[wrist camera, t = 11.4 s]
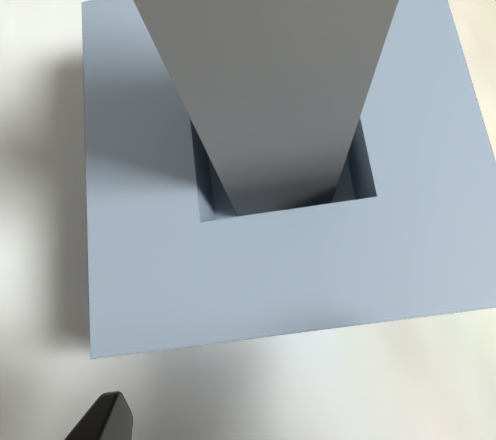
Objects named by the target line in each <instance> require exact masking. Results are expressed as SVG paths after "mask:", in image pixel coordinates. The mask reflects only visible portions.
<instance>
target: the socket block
mask: <svg viewBox="0 0 496 440" xmlns="http://www.w3.org/2000/svg"><path fill="white" fill-rule="evenodd" d="M82 38H83V78H84V118H85V157H86V197H87V237H88V277H89V316H90V356H91V359H96V358H104V357H112V356H120V355H127V354H135V353H143V352H151V351H159V350H167V349H175V348H182V347H190V346H198V345H206V344H214V343H222V342H229V341H237V340H245V339H253V338H261V337H269V336H277V335H284V334H292V333H300V332H308V331H316V330H324V329H331V328H339V327H347V326H355V325H363V324H371V323H379V322H386V321H394V320H402V319H410V318H418V317H426V316H433V315H441V314H449V313H457V312H465V311H473V310H481V309H488V308H496V161H495V157H494V154H493V151H492V147H491V144H490V141H489V137H488V134H487V131H486V127H485V124H484V120H483V117H482V114H481V110H480V107H479V104H478V100H477V97H476V94H475V90H474V87H473V84H472V80H471V77H470V74H469V70H468V67H467V64H466V60H465V57H464V54H463V50H462V47H461V44H460V40H459V37H458V34H457V30H456V27H455V24H454V20H453V17H452V14H451V10H450V7H449V4H448V0H399V1H398V4H397V7H396V10H395V13H394V16H393V19H392V22H391V25H390V28H389V31H388V34H387V37H386V40H385V43H384V46H383V49H382V52H381V55H380V58H379V61H378V64H377V67H376V70H375V73H374V76H373V79H372V82H371V85H370V88H369V91H368V94H367V97H366V100H365V103H364V106H363V109H362V112H361V115H360V118H359V121H358V124H357V127H356V130H355V133H354V136H353V139H352V142H351V145H350V148H349V151H348V154H347V157H346V160H345V163H344V166H343V169H342V172H341V175H340V178H339V181H338V184H337V187H336V190H335V193H334V196H333V199H332V202H331V203H325V204H318V205H312V206H305V207H298V208H291V209H284V210H278V211H271V212H264V213H257V214H251V215H244V216H237V214H236V211H235V209H234V207H233V205H232V203H231V201H230V199H229V197H228V195H227V193H226V191H225V189H224V187H223V185H222V183H221V181H220V178H219V176H218V174H217V172H216V170H215V168H214V166H213V164H212V162H211V160H210V158H209V156H208V154H207V152H206V150H205V148H204V145H203V143H202V141H201V139H200V137H199V135H198V133H197V131H196V129H195V127H194V125H193V123H192V121H191V119H190V117H189V114H188V112H187V110H186V108H185V106H184V104H183V102H182V100H181V98H180V96H179V94H178V92H177V90H176V88H175V86H174V84H173V81H172V79H171V77H170V75H169V73H168V71H167V69H166V67H165V65H164V63H163V61H162V59H161V57H160V55H159V53H158V51H157V48H156V46H155V44H154V42H153V40H152V38H151V36H150V34H149V32H148V30H147V28H146V26H145V24H144V22H143V20H142V18H141V15H140V13H139V11H138V9H137V7H136V5H135V3H134V1H133V0H90V1H85V2H82Z"/></svg>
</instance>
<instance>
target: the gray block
mask: <svg viewBox="0 0 496 440" xmlns="http://www.w3.org/2000/svg"><path fill="white" fill-rule="evenodd" d="M133 1H134V3H135V5H136V7H137V9H138V11H139V13H140V15H141V18H142V20H143V22H144V24H145V26H146V28H147V30H148V32H149V34H150V36H151V38H152V40H153V42H154V44H155V46H156V48H157V51H158V53H159V55H160V57H161V59H162V61H163V63H164V65H165V67H166V69H167V71H168V73H169V75H170V77H171V79H172V81H173V84H174V86H175V88H176V90H177V92H178V94H179V96H180V98H181V100H182V102H183V104H184V106H185V108H186V110H187V112H188V114H189V117H190V119H191V121H192V123H193V125H194V127H195V129H196V131H197V133H198V135H199V137H200V139H201V141H202V143H203V145H204V148H205V150H206V152H207V154H208V156H209V158H210V160H211V162H212V164H213V166H214V168H215V170H216V172H217V174H218V176H219V178H220V181H221V183H222V185H223V187H224V189H225V191H226V193H227V195H228V197H229V199H230V201H231V203H232V205H233V207H234V209H235V211H236V214H237V216H244V215H251V214H257V213H264V212H271V211H278V210H284V209H291V208H298V207H305V206H312V205H318V204H325V203H331V202H332V199H333V196H334V193H335V190H336V187H337V184H338V181H339V178H340V175H341V172H342V169H343V166H344V163H345V160H346V157H347V154H348V151H349V148H350V145H351V142H352V139H353V136H354V133H355V130H356V127H357V124H358V121H359V118H360V115H361V112H362V109H363V106H364V103H365V100H366V97H367V94H368V91H369V88H370V85H371V82H372V79H373V76H374V73H375V70H376V67H377V64H378V61H379V58H380V55H381V52H382V49H383V46H384V43H385V40H386V37H387V34H388V31H389V28H390V25H391V22H392V19H393V16H394V13H395V10H396V7H397V4H398V1H399V0H133Z"/></svg>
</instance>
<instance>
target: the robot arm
mask: <svg viewBox="0 0 496 440" xmlns="http://www.w3.org/2000/svg"><path fill="white" fill-rule="evenodd" d="M132 427H133V416H132V413H131V410H130V408H129V406H128V404H127V402H126V400H125V398H124V396H123V394H122V393H121V392H119V391H116V392H108V393H104V394H102V395H101V396H100V397H99V398H98V399H97V400H96V401H95V403H94V404H93V405H92V406H91V408H90V409H89V410H88V411H87V412H86V414H85V415H84V416H83V417H82V419H81V420H80V421H79V422H78V423H77V425H76V426H75V427H74V428H73V430H72V431H71V432H70V433H69V434H68V436H67V437H66V438H65V439H64V440H131V437H132Z"/></svg>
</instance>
